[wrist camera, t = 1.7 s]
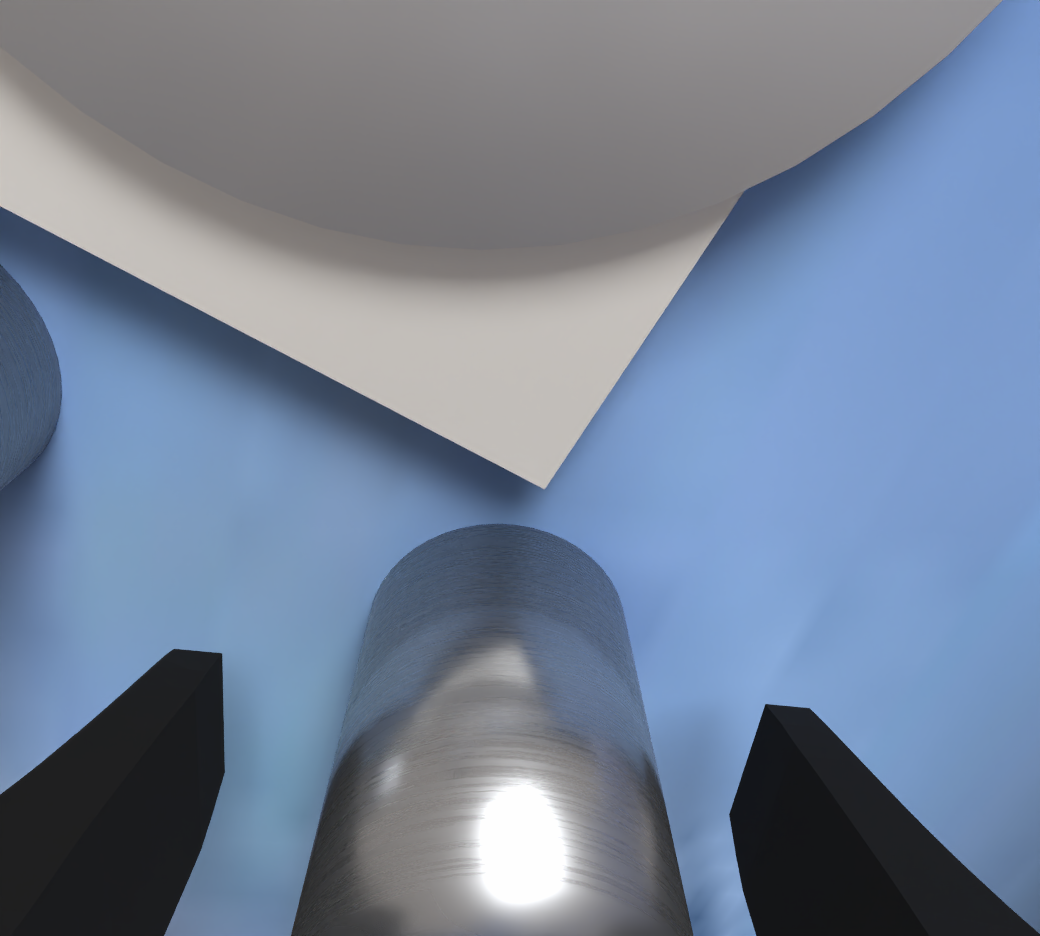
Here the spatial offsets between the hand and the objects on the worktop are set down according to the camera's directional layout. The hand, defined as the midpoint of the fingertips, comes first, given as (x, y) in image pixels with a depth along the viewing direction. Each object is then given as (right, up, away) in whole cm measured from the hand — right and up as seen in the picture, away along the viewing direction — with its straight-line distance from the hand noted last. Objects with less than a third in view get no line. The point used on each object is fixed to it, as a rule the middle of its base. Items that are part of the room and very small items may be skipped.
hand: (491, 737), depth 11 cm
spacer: (0, +1, +2) cm, 2 cm away
